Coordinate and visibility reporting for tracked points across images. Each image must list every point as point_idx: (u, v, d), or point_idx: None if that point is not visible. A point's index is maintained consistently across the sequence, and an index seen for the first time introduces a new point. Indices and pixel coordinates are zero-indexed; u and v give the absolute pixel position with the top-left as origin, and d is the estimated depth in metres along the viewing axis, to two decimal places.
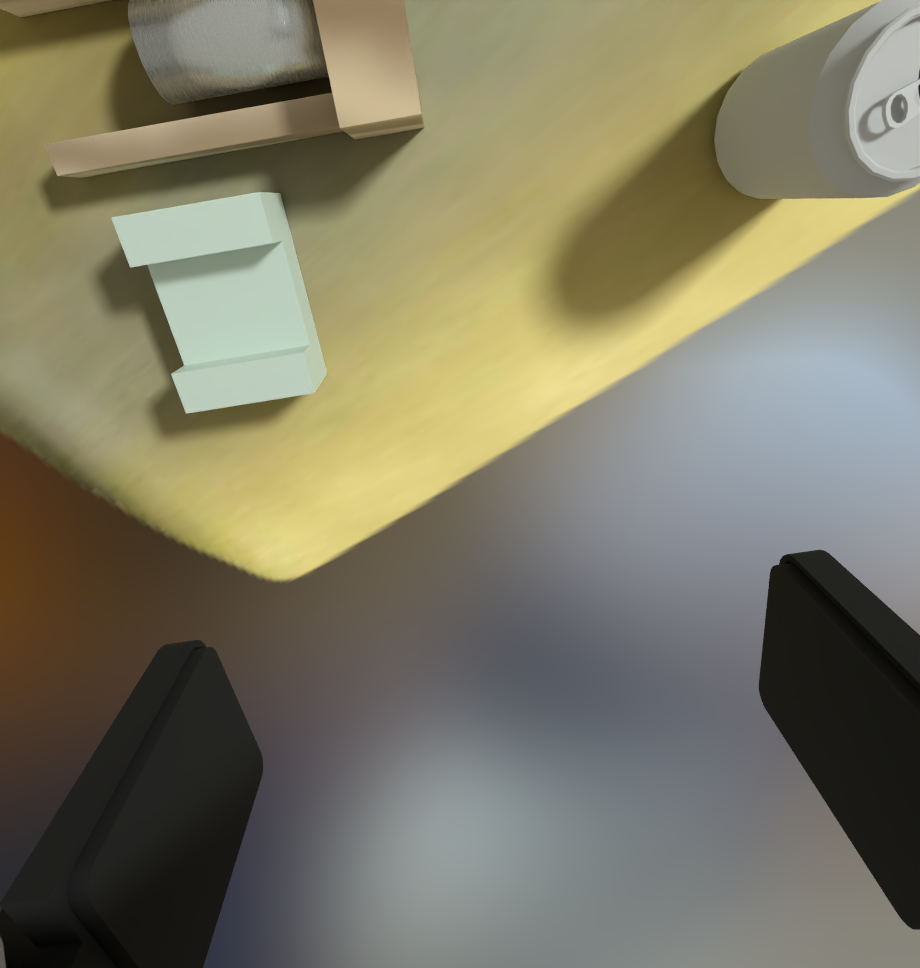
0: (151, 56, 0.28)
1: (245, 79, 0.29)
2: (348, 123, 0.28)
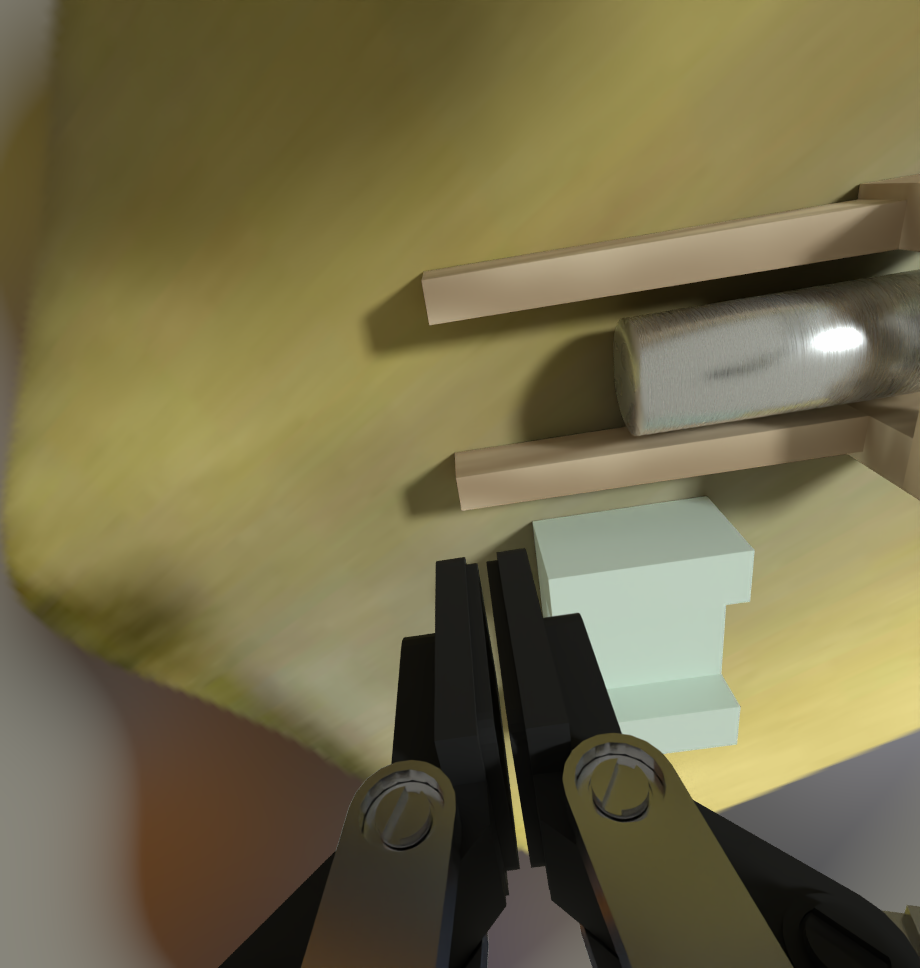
0: (662, 413, 0.20)
1: (755, 417, 0.22)
2: None
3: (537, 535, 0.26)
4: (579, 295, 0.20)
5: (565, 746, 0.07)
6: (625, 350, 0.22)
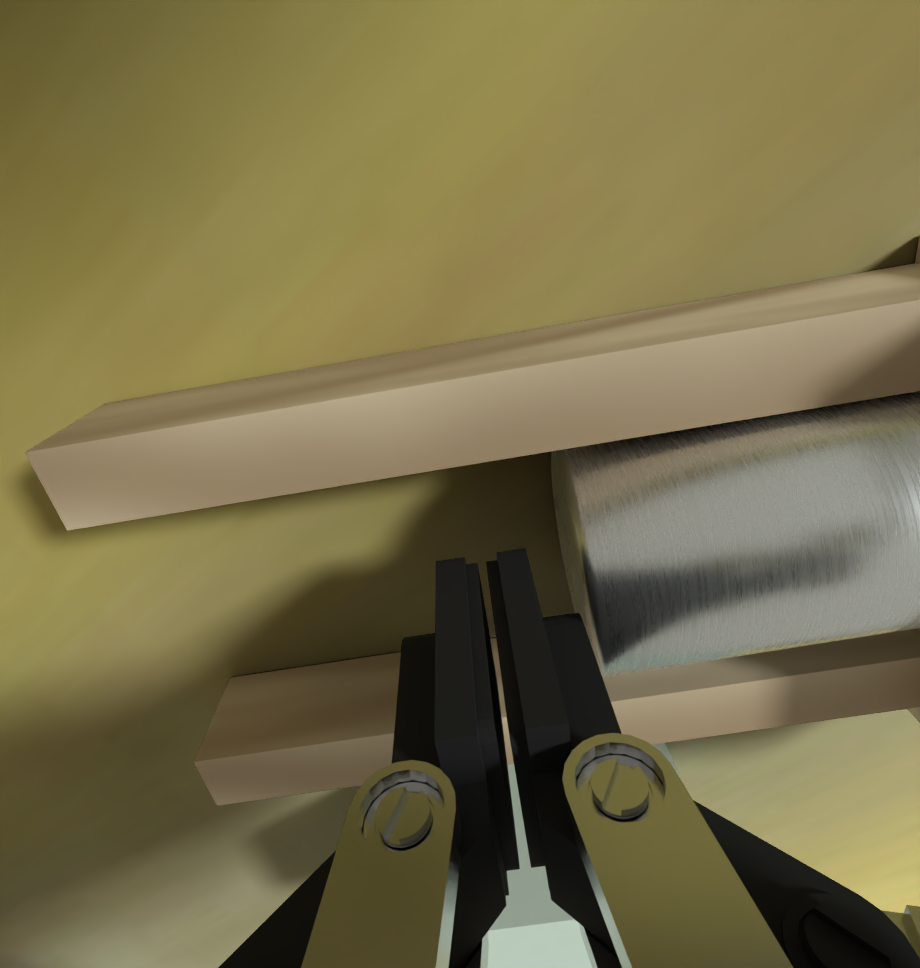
0: (639, 624, 0.09)
1: (856, 637, 0.10)
2: None
3: None
4: (359, 473, 0.10)
5: (564, 746, 0.07)
6: (564, 505, 0.11)
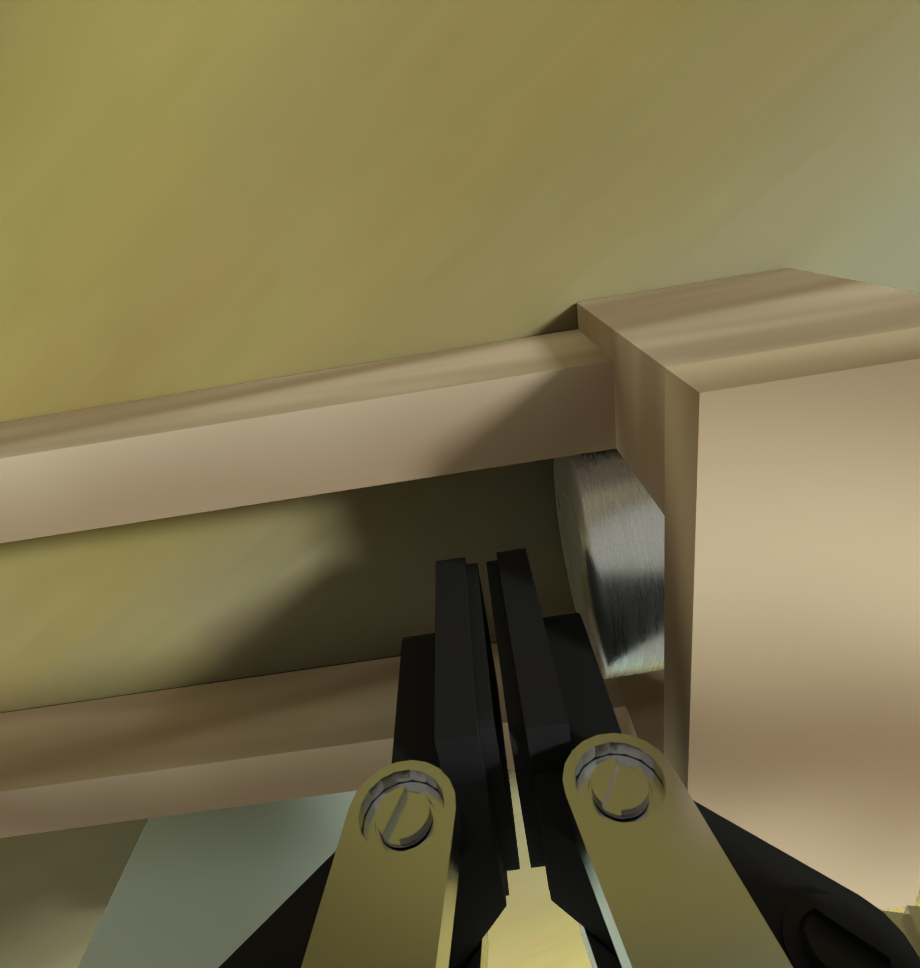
0: (643, 627, 0.09)
1: None
2: None
3: (139, 840, 0.16)
4: None
5: (565, 746, 0.07)
6: (566, 505, 0.11)
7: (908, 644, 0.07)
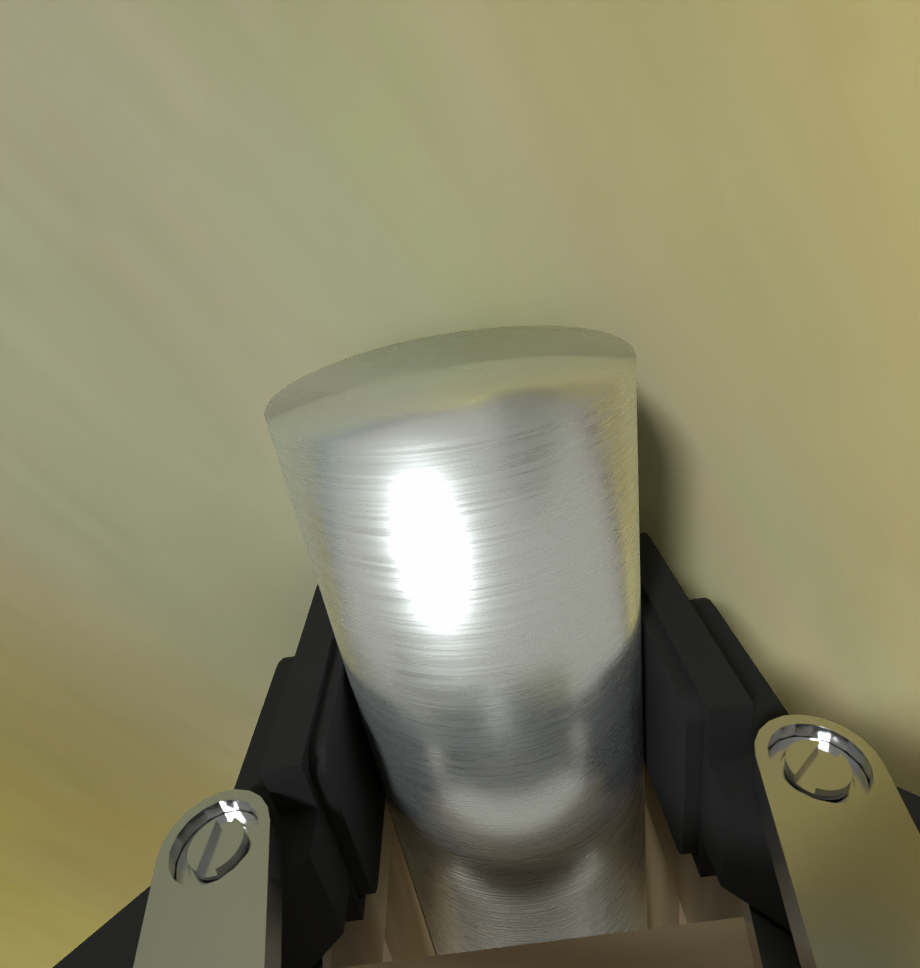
0: None
1: (644, 807, 0.10)
2: None
3: None
4: None
5: (744, 728, 0.07)
6: None
7: None
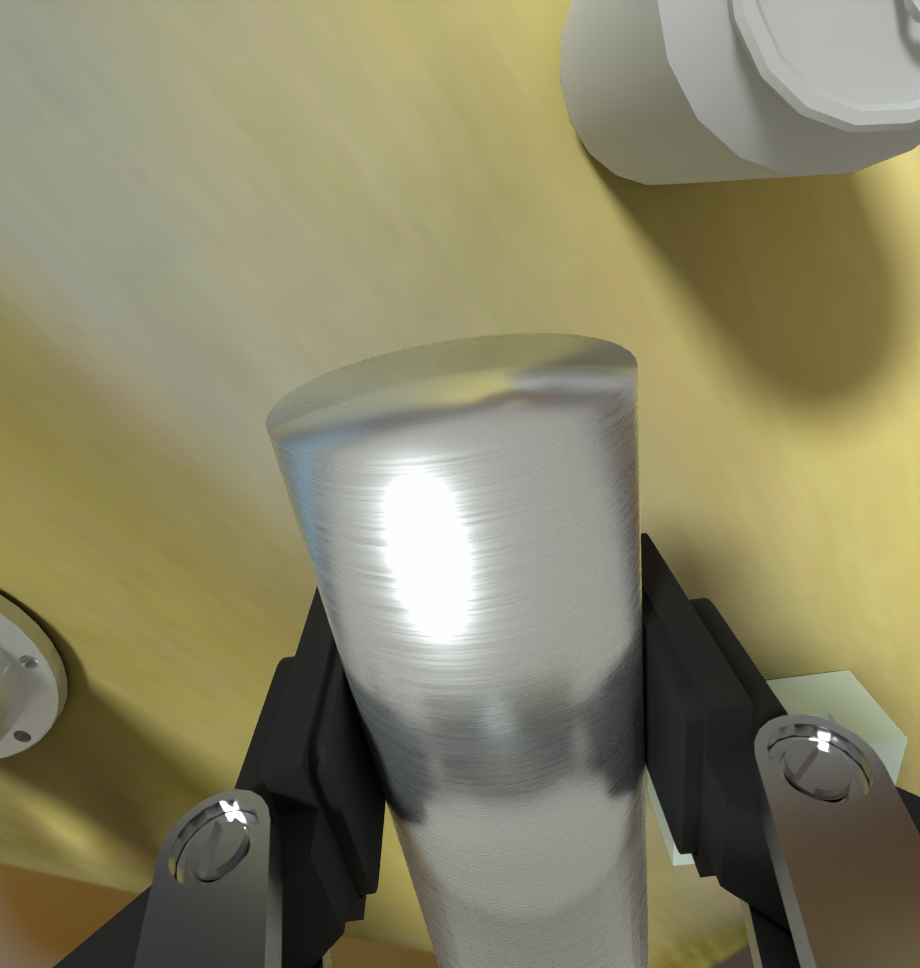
0: None
1: (645, 813, 0.10)
2: None
3: None
4: None
5: (744, 728, 0.07)
6: None
7: None
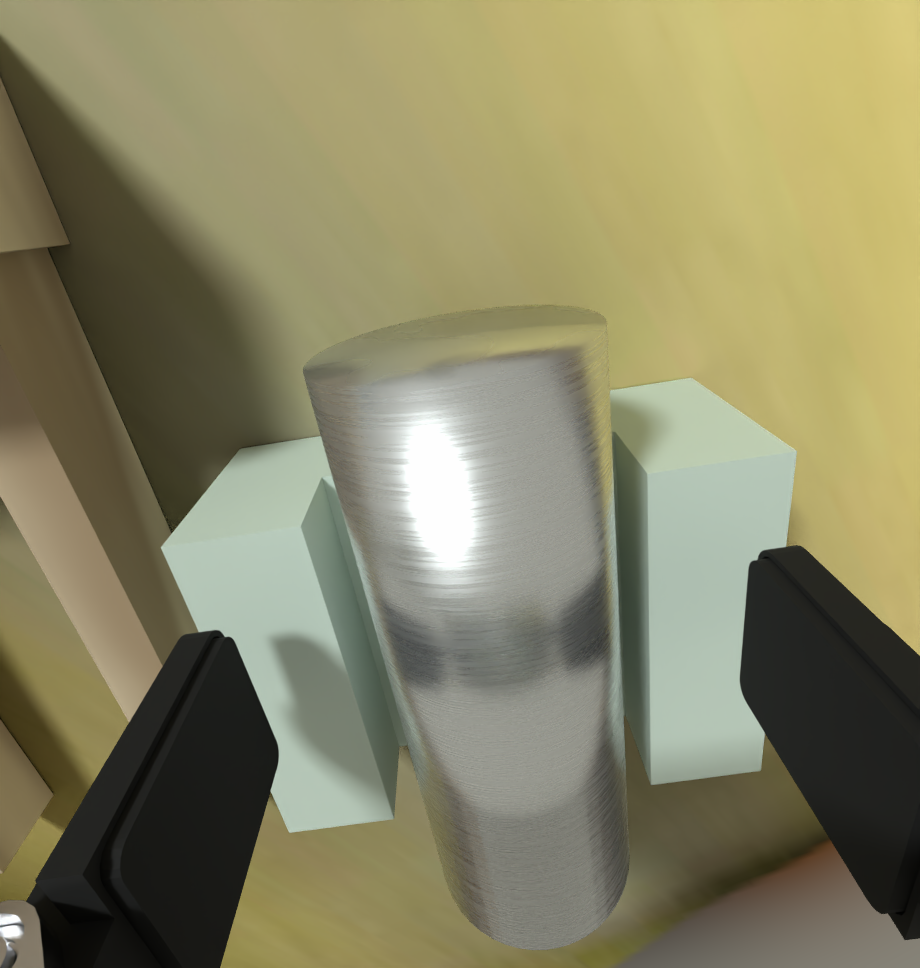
0: (597, 910, 0.12)
1: None
2: None
3: None
4: None
5: None
6: None
7: None
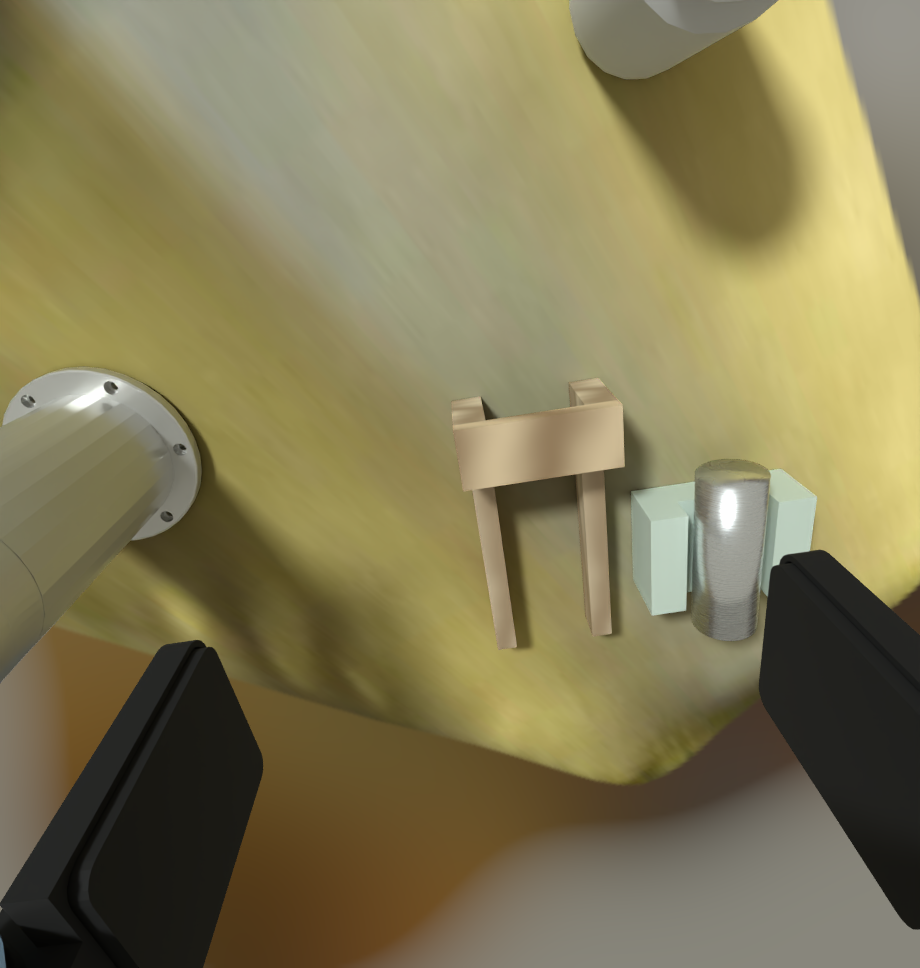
0: (747, 631, 0.40)
1: (761, 573, 0.40)
2: (622, 460, 0.35)
3: (637, 587, 0.45)
4: (507, 594, 0.43)
5: None
6: None
7: (519, 440, 0.34)
